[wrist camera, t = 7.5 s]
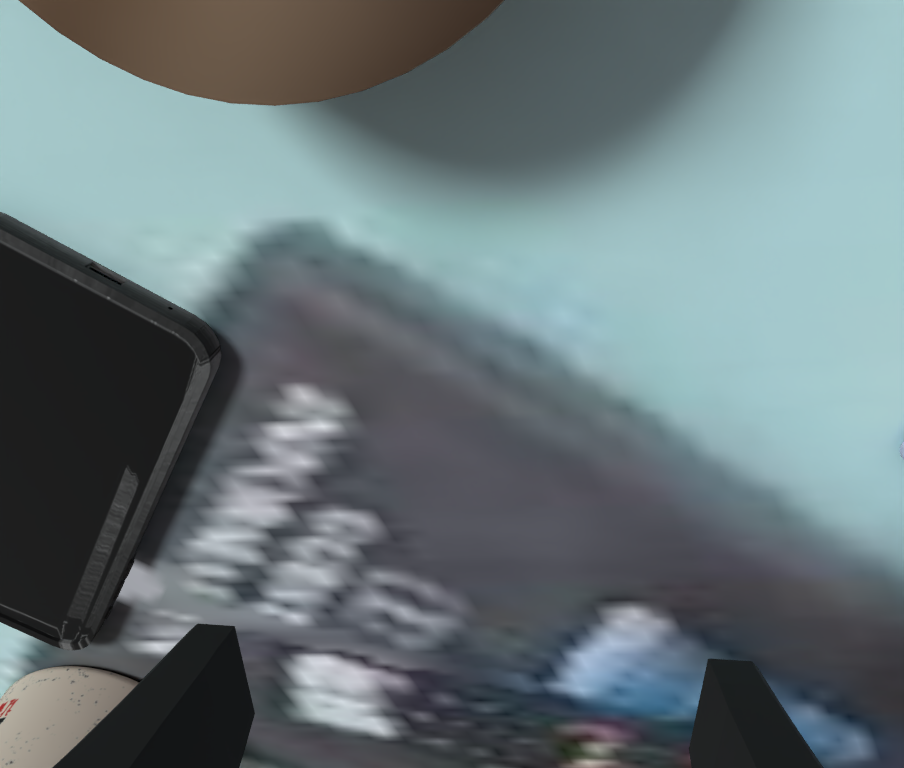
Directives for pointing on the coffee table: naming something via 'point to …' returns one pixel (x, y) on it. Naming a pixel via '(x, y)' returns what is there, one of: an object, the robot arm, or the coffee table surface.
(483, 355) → the coffee table surface
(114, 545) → the phone
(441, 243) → the coffee table surface
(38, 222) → the coffee table surface
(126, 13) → the walnut lid
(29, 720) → the teacup with lid
